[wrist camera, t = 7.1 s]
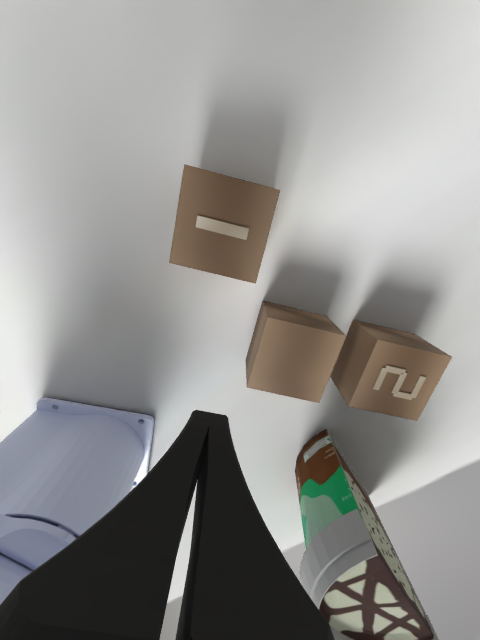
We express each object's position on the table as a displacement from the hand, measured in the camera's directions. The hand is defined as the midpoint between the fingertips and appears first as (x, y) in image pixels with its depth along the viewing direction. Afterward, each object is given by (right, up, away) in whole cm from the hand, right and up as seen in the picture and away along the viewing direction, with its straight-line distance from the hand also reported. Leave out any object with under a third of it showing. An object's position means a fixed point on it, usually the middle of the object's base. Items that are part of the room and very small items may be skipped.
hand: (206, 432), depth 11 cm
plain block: (+5, +3, +10) cm, 12 cm away
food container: (+9, -10, +15) cm, 20 cm away
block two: (+12, +2, +11) cm, 16 cm away
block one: (0, +11, +7) cm, 13 cm away
